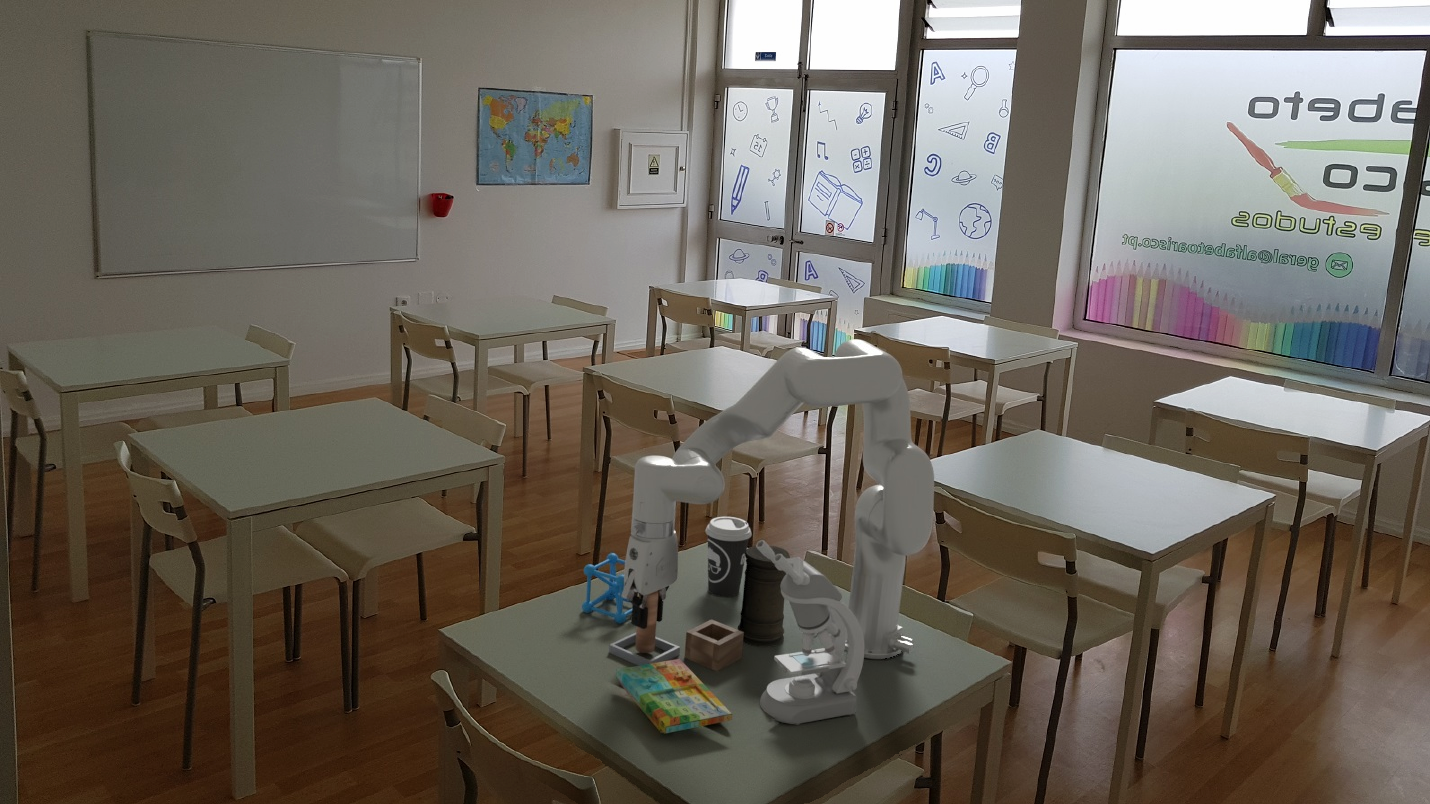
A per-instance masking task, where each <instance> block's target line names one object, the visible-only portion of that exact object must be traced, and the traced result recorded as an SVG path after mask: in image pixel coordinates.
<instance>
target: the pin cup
mask: <svg viewBox="0 0 1430 804" xmlns="http://www.w3.org/2000/svg"><path fill="white" fill-rule="evenodd" d="M743 636H744V632H742V631H739V630H738V628H734V627H732V626H730V625H727V624H724V623H723V622H722V623H721V622H720V621H716V620H714V619H709V620H708V621H705V622H703V623H701V624H699V625H698V626H694V627H693V628H692V629H689V630H687V631H686V634H685V647H684V658H685V659H688V660H689V661H692V662H694V663H696V664H699V665H701V666H703V667H705V668H708V669H711V670H713V671H715V672H719V671H720V670H722V669H724V668H726V667H728V666H730V665H731V664H734V663H735V662H737V661H738V660H741V659H742V656H743V647H744V646H743V645H744V642H743Z"/></svg>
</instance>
